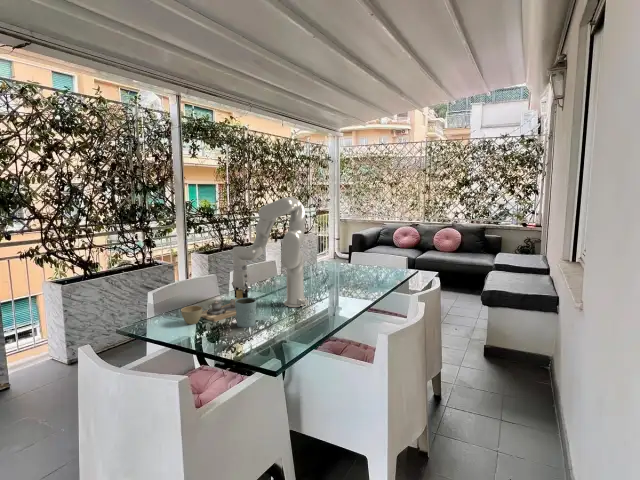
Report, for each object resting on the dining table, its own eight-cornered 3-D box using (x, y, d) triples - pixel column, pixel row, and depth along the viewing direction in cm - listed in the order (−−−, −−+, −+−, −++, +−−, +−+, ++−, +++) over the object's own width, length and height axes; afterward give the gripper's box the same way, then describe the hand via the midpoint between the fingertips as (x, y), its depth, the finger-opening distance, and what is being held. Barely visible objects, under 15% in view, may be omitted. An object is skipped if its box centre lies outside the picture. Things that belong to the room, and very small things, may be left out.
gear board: (253, 309, 207) (253, 296, 206) (214, 321, 188) (213, 307, 187) (236, 304, 216) (236, 291, 215) (197, 315, 197) (196, 302, 197)
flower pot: (183, 327, 180) (182, 313, 179) (180, 321, 189) (179, 307, 188) (205, 324, 185) (204, 309, 184) (201, 318, 194) (200, 304, 193)
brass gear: (253, 301, 221) (253, 289, 220) (239, 305, 214) (239, 293, 213) (242, 298, 228) (242, 287, 227) (229, 302, 220) (228, 290, 219)
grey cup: (238, 320, 189) (237, 297, 187) (259, 320, 188) (258, 297, 187) (233, 328, 179) (232, 303, 177) (254, 328, 178) (254, 303, 177)
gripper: (255, 268, 215) (256, 299, 218) (236, 265, 226) (237, 294, 229) (244, 271, 210) (245, 302, 212) (225, 267, 221) (226, 297, 223)
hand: (241, 298), depth 220 cm, fingers open, 6 cm apart
